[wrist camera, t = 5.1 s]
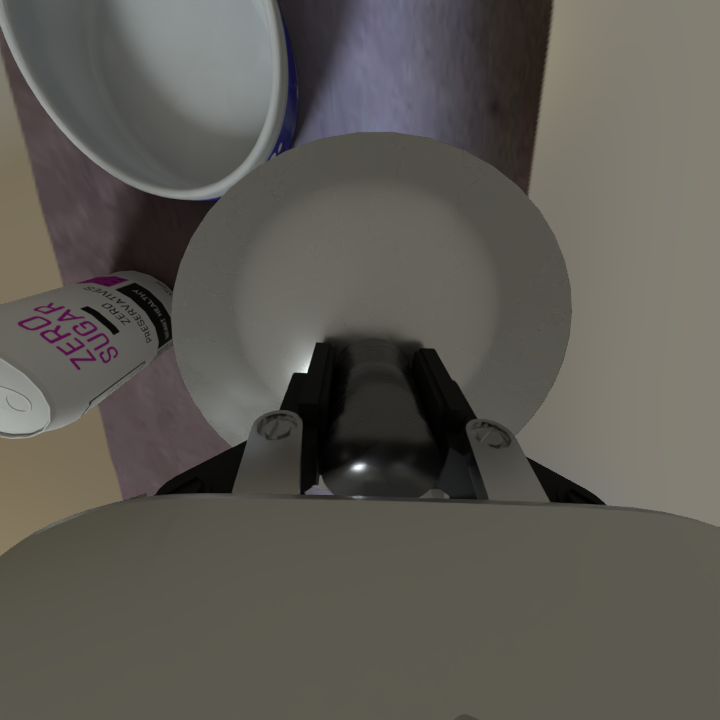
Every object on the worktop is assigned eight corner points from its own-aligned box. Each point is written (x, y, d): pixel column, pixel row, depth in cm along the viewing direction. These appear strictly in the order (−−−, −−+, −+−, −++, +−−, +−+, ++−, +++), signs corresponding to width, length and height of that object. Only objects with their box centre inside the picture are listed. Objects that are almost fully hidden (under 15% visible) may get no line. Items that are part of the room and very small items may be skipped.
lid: (492, 482, 17) (554, 608, 12) (222, 475, 16) (157, 604, 11) (633, 158, 9) (1012, 91, 4) (128, 119, 8) (-244, -26, 3)
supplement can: (104, 325, 30) (-91, 419, 17) (109, 253, 26) (-132, 301, 13) (182, 355, 32) (62, 460, 19) (196, 291, 28) (61, 366, 15)
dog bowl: (130, -176, 16) (9, -379, 10) (343, 68, 20) (337, 16, 15) (59, 99, 21) (-44, 60, 16) (239, 241, 26) (207, 249, 20)
